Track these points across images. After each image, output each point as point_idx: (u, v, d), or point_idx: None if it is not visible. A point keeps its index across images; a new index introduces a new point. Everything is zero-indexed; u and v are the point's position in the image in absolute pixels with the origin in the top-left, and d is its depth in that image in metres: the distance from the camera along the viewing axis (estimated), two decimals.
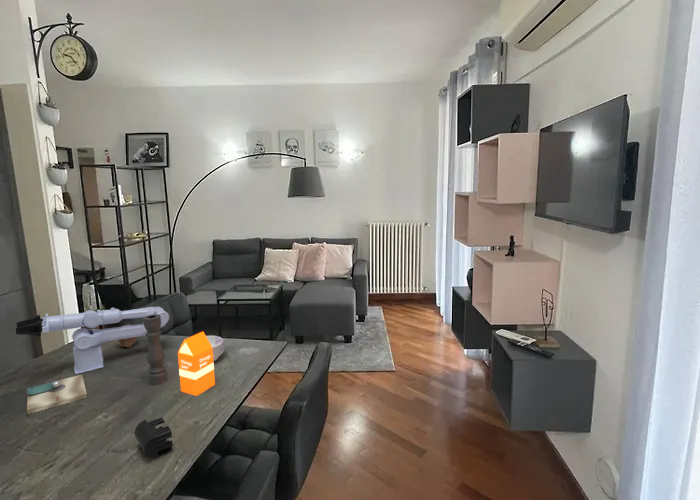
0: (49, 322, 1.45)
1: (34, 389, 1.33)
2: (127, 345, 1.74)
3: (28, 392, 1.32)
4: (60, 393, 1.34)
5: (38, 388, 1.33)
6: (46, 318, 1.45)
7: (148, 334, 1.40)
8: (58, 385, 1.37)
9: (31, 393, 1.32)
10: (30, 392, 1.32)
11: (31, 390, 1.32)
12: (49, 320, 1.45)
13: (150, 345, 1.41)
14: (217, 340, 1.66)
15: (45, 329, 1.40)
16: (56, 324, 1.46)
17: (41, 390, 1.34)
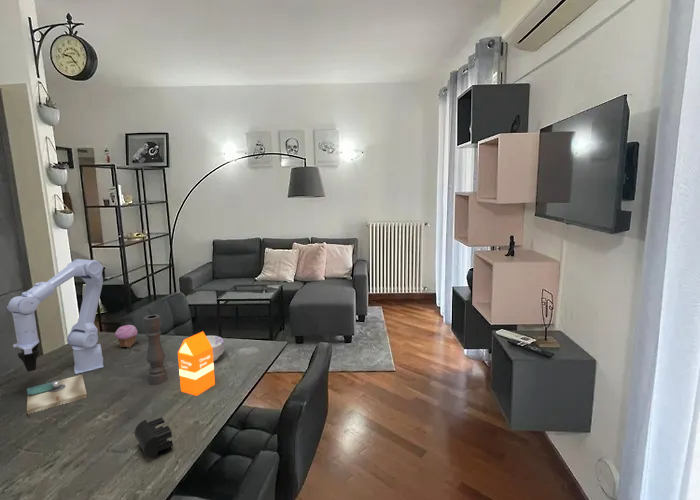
0: (22, 344, 1.33)
1: (34, 389, 1.33)
2: (127, 345, 1.74)
3: (28, 392, 1.32)
4: (60, 393, 1.34)
5: (38, 388, 1.33)
6: (18, 346, 1.33)
7: (148, 334, 1.40)
8: (58, 385, 1.37)
9: (31, 393, 1.32)
10: (30, 392, 1.32)
11: (31, 390, 1.32)
12: (20, 344, 1.33)
13: (150, 345, 1.41)
14: (217, 340, 1.66)
15: (27, 351, 1.30)
16: (25, 338, 1.33)
17: (41, 390, 1.34)
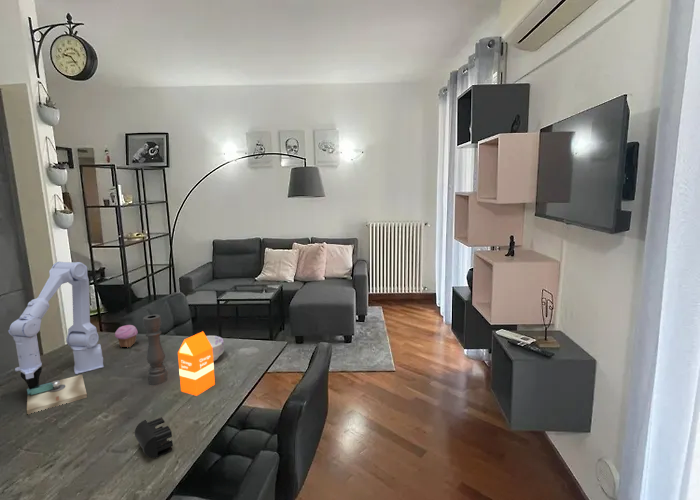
0: (24, 368, 1.30)
1: (34, 389, 1.33)
2: (127, 345, 1.74)
3: (28, 392, 1.32)
4: (60, 393, 1.34)
5: (38, 388, 1.33)
6: (20, 370, 1.30)
7: (148, 334, 1.40)
8: (58, 385, 1.37)
9: (31, 393, 1.32)
10: (30, 392, 1.32)
11: (31, 390, 1.32)
12: (22, 368, 1.30)
13: (150, 345, 1.41)
14: (217, 340, 1.66)
15: (29, 376, 1.27)
16: (27, 361, 1.30)
17: (41, 390, 1.34)
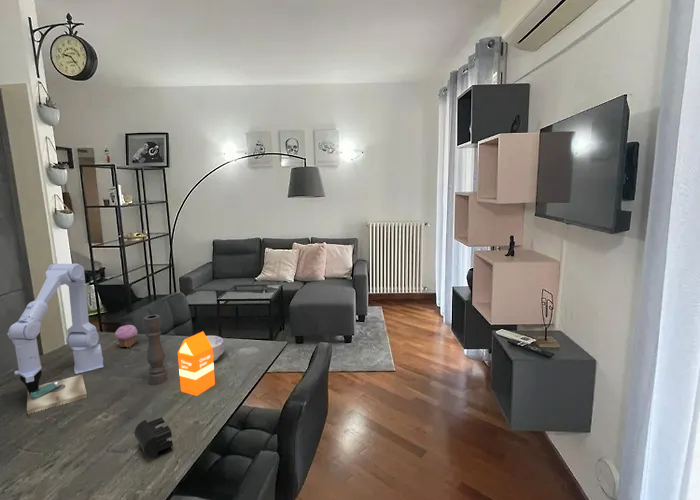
0: (24, 371, 1.28)
1: (39, 391, 1.31)
2: (127, 345, 1.74)
3: (33, 395, 1.30)
4: (60, 393, 1.34)
5: (42, 390, 1.32)
6: (19, 373, 1.28)
7: (148, 334, 1.40)
8: (59, 384, 1.37)
9: (36, 395, 1.30)
10: (35, 395, 1.30)
11: (36, 393, 1.30)
12: (22, 371, 1.28)
13: (150, 345, 1.41)
14: (217, 340, 1.66)
15: (29, 379, 1.25)
16: (27, 365, 1.28)
17: (45, 391, 1.33)
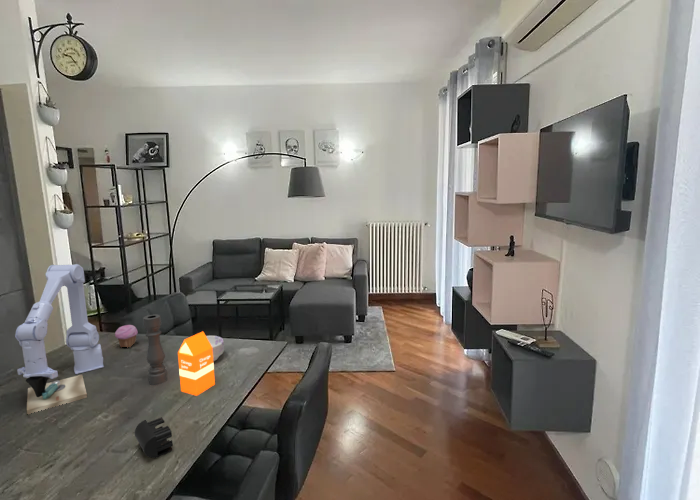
0: (39, 371, 1.27)
1: (50, 391, 1.31)
2: (127, 345, 1.74)
3: (47, 395, 1.30)
4: (60, 393, 1.34)
5: (51, 389, 1.32)
6: (32, 375, 1.26)
7: (148, 334, 1.40)
8: None
9: (49, 395, 1.31)
10: (48, 394, 1.30)
11: (49, 392, 1.31)
12: (36, 372, 1.27)
13: (150, 345, 1.41)
14: (217, 340, 1.66)
15: (54, 375, 1.28)
16: (42, 364, 1.28)
17: (53, 391, 1.33)
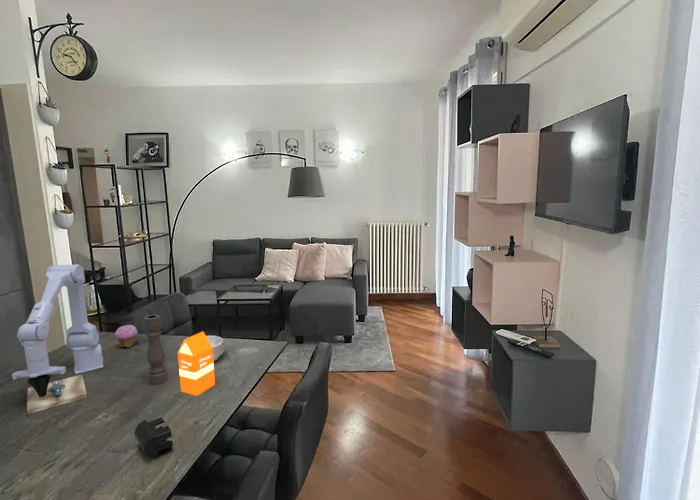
0: (45, 370, 1.29)
1: (60, 388, 1.33)
2: (127, 345, 1.74)
3: (60, 392, 1.32)
4: None
5: (60, 387, 1.34)
6: (40, 374, 1.27)
7: (148, 334, 1.40)
8: None
9: None
10: None
11: (60, 389, 1.33)
12: (43, 371, 1.28)
13: (150, 345, 1.41)
14: (217, 340, 1.66)
15: (64, 370, 1.31)
16: (47, 362, 1.29)
17: None
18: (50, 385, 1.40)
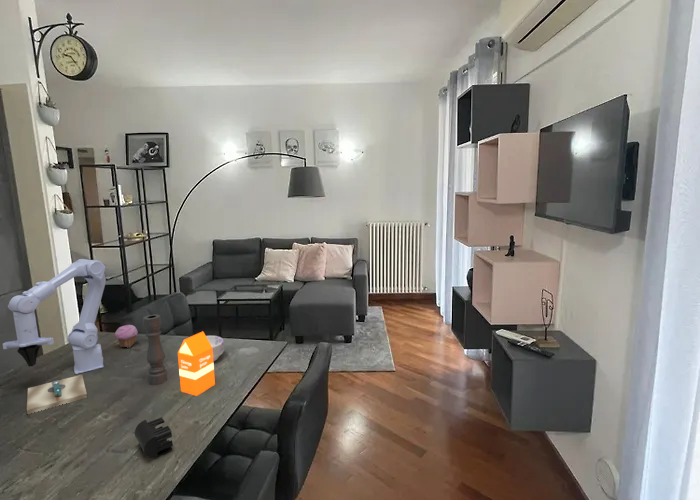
0: (34, 340, 1.36)
1: (60, 388, 1.33)
2: (127, 345, 1.74)
3: (60, 392, 1.32)
4: None
5: (60, 387, 1.34)
6: (29, 344, 1.35)
7: (148, 334, 1.40)
8: None
9: None
10: None
11: None
12: (32, 341, 1.35)
13: (150, 345, 1.41)
14: (217, 340, 1.66)
15: (52, 341, 1.39)
16: (36, 333, 1.37)
17: None
18: (50, 385, 1.40)
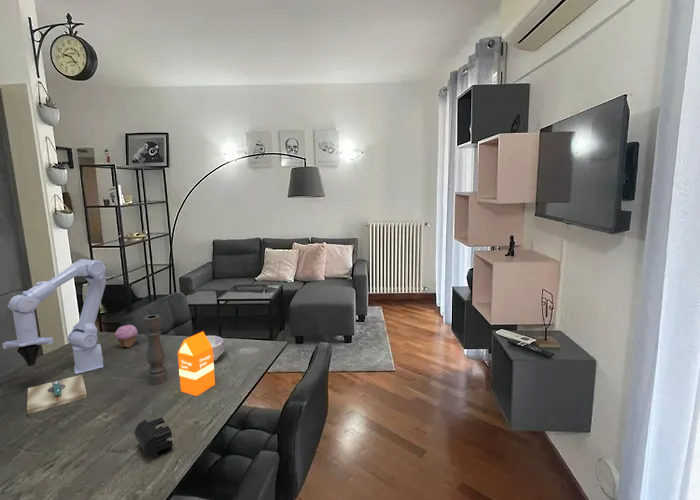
0: (34, 340, 1.36)
1: (60, 388, 1.33)
2: (127, 345, 1.74)
3: (60, 392, 1.32)
4: None
5: (60, 387, 1.34)
6: (29, 344, 1.35)
7: (148, 334, 1.40)
8: None
9: None
10: None
11: None
12: (31, 340, 1.36)
13: (150, 345, 1.41)
14: (217, 340, 1.66)
15: (52, 341, 1.39)
16: (36, 333, 1.37)
17: None
18: (50, 385, 1.40)
